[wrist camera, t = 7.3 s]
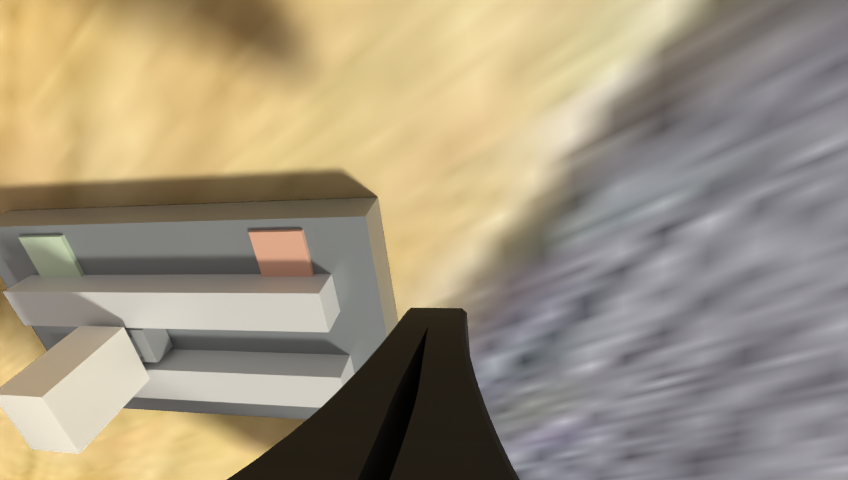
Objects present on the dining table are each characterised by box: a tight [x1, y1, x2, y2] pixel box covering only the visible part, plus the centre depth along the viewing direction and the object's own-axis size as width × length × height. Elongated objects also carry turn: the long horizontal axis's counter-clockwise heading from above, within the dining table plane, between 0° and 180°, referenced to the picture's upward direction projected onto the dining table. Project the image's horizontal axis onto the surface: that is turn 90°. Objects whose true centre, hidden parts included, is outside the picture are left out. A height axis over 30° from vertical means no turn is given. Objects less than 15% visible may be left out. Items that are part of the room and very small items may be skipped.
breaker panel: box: [0, 197, 398, 420], centre depth 23 cm, size 20×12×4 cm, turn 96°
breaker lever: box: [0, 326, 173, 454], centre depth 21 cm, size 3×3×6 cm
